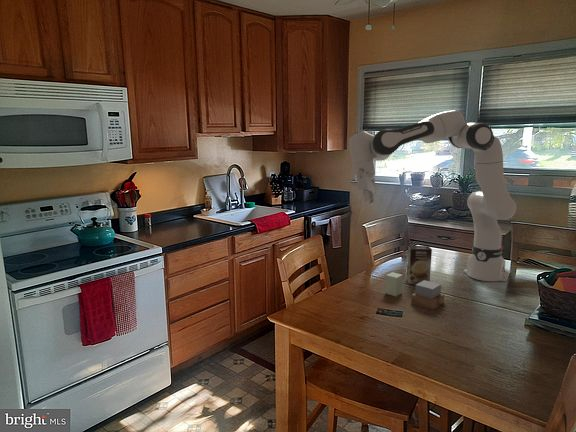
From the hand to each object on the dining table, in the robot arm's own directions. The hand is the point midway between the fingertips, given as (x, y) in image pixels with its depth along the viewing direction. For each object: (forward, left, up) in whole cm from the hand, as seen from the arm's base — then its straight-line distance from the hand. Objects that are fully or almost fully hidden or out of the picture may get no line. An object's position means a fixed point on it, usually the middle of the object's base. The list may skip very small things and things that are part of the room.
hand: (369, 202), depth 169 cm
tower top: (-2, +26, -34) cm, 43 cm away
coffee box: (-21, +12, -38) cm, 45 cm away
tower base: (-2, +26, -38) cm, 46 cm away
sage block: (-2, +11, -37) cm, 39 cm away
